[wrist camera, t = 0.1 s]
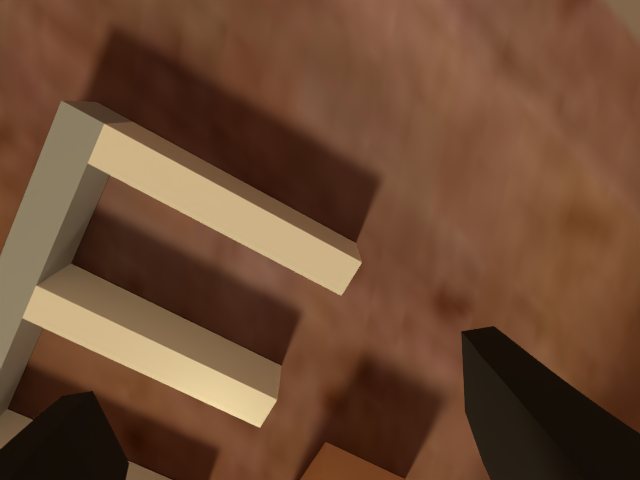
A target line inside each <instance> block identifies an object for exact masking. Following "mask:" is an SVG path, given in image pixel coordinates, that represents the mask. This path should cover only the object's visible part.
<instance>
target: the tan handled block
mask: <svg viewBox="0 0 640 480" xmlns="http://www.w3.org/2000/svg"><path fill="white" fill-rule="evenodd" d="M300 480H405V479H404V478H402V477H399V476H397V475H395V474H393V473H391V472H389V471H387V470H385V469H382V468H380V467H378V466H376V465H374V464H372V463H370V462H368V461H366V460H363V459H361V458H359V457H357V456H355V455H353V454H351V453H349V452H346V451H344V450H342V449H340V448H338V447H336V446H334V445H332V444H330V443H327V442H325V443H324V445H323V446H322V448H321V449H320V451H319V452H318V454H317V455H316V457H315V458H314V460H313V461H312V463H311V464H310V466H309V467H308V469H307V470H306V472H305V473H304V475H303V476H302V478H301V479H300Z"/></svg>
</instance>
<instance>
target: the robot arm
mask: <svg viewBox="0 0 640 480" xmlns="http://www.w3.org/2000/svg"><path fill="white" fill-rule="evenodd" d="M461 334H462V355H463V376H464V398H465V412H466V415H467V418H468V421H469V424H470V427H471V430H472V433H473V436H474V439H475V442H476V444H477V447H478V450H479V453H480V455H481V458H482V461H483V464H484V466H485V468H486V470H487V472H488V475H489V477H490V479H491V480H640V434H639V433H638V432H636V431H635V430H633V429H632V428H630V427H629V426H627V425H626V424H624V423H623V422H621V421H620V420H619V419H617V418H616V417H614V416H613V415H611V414H610V413H608V412H607V411H606V410H604V409H603V408H601V407H600V406H599V405H597V404H596V403H594V402H593V401H592V400H590V399H589V398H587V397H586V396H585V395H583V394H582V393H581V392H579V391H578V390H576V389H575V388H574V387H572V386H571V385H569V384H568V383H567V382H565V381H564V380H563V379H561V378H560V377H559V376H557V375H556V374H555V373H554V372H552V371H551V370H550V369H548V368H547V367H546V366H544V365H543V364H542V363H541V362H539V361H538V360H537V359H535V358H534V357H533V356H531V355H530V354H529V353H528V352H526V351H525V350H524V349H523V348H521V347H520V346H519V345H517V344H516V343H515V342H514V341H512V340H511V339H510V338H509V337H507V336H506V335H505V334H503V333H502V332H501V331H500V330H498V329H497V328H495V327H494V326H492V327H486V328H480V329H474V330H467V331H461ZM128 467H129V462H128V460H127V458H126V456H125V454H124V452H123V450H122V448H121V446H120V444H119V442H118V440H117V438H116V436H115V434H114V432H113V430H112V428H111V426H110V424H109V422H108V420H107V418H106V416H105V415H104V413H103V411H102V409H101V407H100V405H99V403H98V401H97V399H96V397H95V395H94V393H93V391H91V392H85V393H79V394H73V395H66V396H62V397H61V398H60V399H58V400H57V401H56V402H54V403H53V404H52V405H51V406H49V407H48V408H47V409H46V410H45V411H43V412H42V413H41V414H40V415H39V416H37V417H36V418H35V419H34V420H33V421H32V422H30V423H29V424H28V425H27V426H26V427H25V428H24V429H22V430H21V431H20V432H19V433H18V434H17V435H16V436H14V437H13V438H12V439H11V440H10V441H9V442H8V443H7V444H5V445H4V446H3V447H2V448H1V449H0V480H126V476H127V472H128Z"/></svg>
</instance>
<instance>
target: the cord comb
mask: <svg viewBox="0 0 640 480" xmlns="http://www.w3.org/2000/svg"><path fill="white" fill-rule="evenodd" d="M110 175H111V176H113V177H115V178H117V179H119V180H121V181H123V182H124V183H126V184H128V185H130V186H132V187H134V188H136V189H138V190H140V191H142V192H144V193H145V194H147V195H149V196H151V197H153V198H155V199H157V200H159V201H161V202H163V203H165V204H167V205H168V206H170V207H172V208H174V209H176V210H178V211H180V212H182V213H184V214H186V215H188V216H190V217H191V218H193V219H195V220H197V221H199V222H201V223H203V224H205V225H207V226H209V227H211V228H212V229H214V230H216V231H218V232H220V233H222V234H224V235H226V236H228V237H230V238H232V239H234V240H235V241H237V242H239V243H241V244H243V245H245V246H247V247H249V248H251V249H253V250H255V251H257V252H258V253H260V254H262V255H264V256H266V257H268V258H270V259H272V260H274V261H276V262H278V263H280V264H281V265H283V266H285V267H287V268H289V269H291V270H293V271H295V272H297V273H299V274H301V275H302V276H304V277H306V278H308V279H310V280H312V281H314V282H316V283H318V284H320V285H322V286H324V287H325V288H327V289H329V290H331V291H333V292H335V293H337V294H339V295H341V296H342V294H343V292H344V291H345V289H346V287H347V286H348V284H349V283H350V281H351V279H352V278H353V276H354V274H355V273H356V271H357V270H358V268H359V266H360V265H361V263H362V261H361V258H360V254H359V251H358V248H357V245H356V243H355V242H353V241H351V240H349V239H347V238H346V237H344V236H342V235H340V234H338V233H336V232H335V231H333V230H331V229H329V228H327V227H325V226H324V225H322V224H320V223H318V222H316V221H314V220H313V219H311V218H309V217H307V216H305V215H303V214H301V213H300V212H298V211H296V210H294V209H292V208H290V207H289V206H287V205H285V204H283V203H281V202H279V201H278V200H276V199H274V198H272V197H270V196H268V195H267V194H265V193H263V192H261V191H259V190H257V189H256V188H254V187H252V186H250V185H248V184H246V183H245V182H243V181H241V180H239V179H237V178H235V177H233V176H232V175H230V174H228V173H226V172H224V171H222V170H221V169H219V168H217V167H215V166H213V165H211V164H210V163H208V162H206V161H204V160H202V159H200V158H199V157H197V156H195V155H193V154H191V153H189V152H188V151H186V150H184V149H182V148H180V147H178V146H177V145H175V144H173V143H171V142H169V141H167V140H165V139H164V138H162V137H160V136H158V135H156V134H154V133H153V132H151V131H149V130H147V129H145V128H143V127H142V126H140V125H138V124H136V123H134V122H132V121H131V120H129V119H127V118H125V117H123V116H121V115H120V114H118V113H116V112H114V111H112V110H110V109H109V108H107V107H105V106H103V105H101V104H99V103H97V102H83V101H61V103H60V106H59V108H58V111H57V113H56V116H55V118H54V121H53V124H52V126H51V129H50V131H49V134H48V136H47V139H46V141H45V144H44V146H43V149H42V152H41V154H40V157H39V159H38V162H37V164H36V167H35V169H34V172H33V174H32V177H31V180H30V182H29V185H28V187H27V190H26V192H25V195H24V197H23V200H22V202H21V205H20V208H19V210H18V213H17V215H16V218H15V220H14V223H13V225H12V228H11V230H10V233H9V236H8V238H7V241H6V243H5V246H4V248H3V251H2V253H1V256H0V449H1V448H2V447H3V446H4V445H5V444H7V443H8V442H9V441H10V440H11V439H12V438H13V437H14V436H16V435H17V434H18V433H19V432H20V431H21V430H22V429H24V428H25V427H26V426H27V425H28V424H29V423H30V422H32V421H33V420H32V419H30V418H27V417H25V416H23V415H21V414H18V413H16V412H14V411H11V410H9V409H8V406H9V404H10V402H11V400H12V397H13V395H14V393H15V390H16V388H17V386H18V384H19V381H20V379H21V377H22V374H23V372H24V370H25V368H26V365H27V363H28V361H29V358H30V356H31V354H32V352H33V349H34V347H35V345H36V342H37V340H38V338H39V336H40V333H41V331H42V329H43V328H45V329H47V330H49V331H51V332H53V333H56V334H58V335H60V336H62V337H64V338H66V339H69V340H71V341H73V342H75V343H77V344H79V345H82V346H84V347H86V348H88V349H90V350H92V351H95V352H97V353H99V354H101V355H103V356H105V357H108V358H110V359H112V360H114V361H116V362H118V363H121V364H123V365H125V366H127V367H129V368H131V369H134V370H136V371H138V372H140V373H142V374H144V375H147V376H149V377H151V378H153V379H155V380H157V381H160V382H162V383H164V384H166V385H168V386H170V387H173V388H175V389H177V390H179V391H181V392H183V393H186V394H188V395H190V396H192V397H194V398H196V399H199V400H201V401H203V402H205V403H207V404H209V405H212V406H214V407H216V408H218V409H220V410H222V411H225V412H227V413H229V414H231V415H233V416H235V417H238V418H240V419H242V420H244V421H246V422H248V423H251V424H253V425H255V426H257V427H259V428H260V427H261V425H262V423H263V422H264V420H265V419H266V417H267V415H268V414H269V412H270V411H271V409H272V407H273V406H274V404H275V402H276V401H277V397H278V390H279V382H280V374H281V367H282V366H281V365H279V364H277V363H275V362H273V361H271V360H268V359H266V358H264V357H262V356H260V355H258V354H256V353H254V352H252V351H250V350H248V349H246V348H244V347H242V346H240V345H238V344H236V343H234V342H231V341H229V340H227V339H225V338H223V337H221V336H219V335H217V334H215V333H213V332H211V331H209V330H207V329H205V328H203V327H201V326H199V325H197V324H194V323H192V322H190V321H188V320H186V319H184V318H182V317H180V316H178V315H176V314H174V313H172V312H170V311H168V310H166V309H164V308H162V307H160V306H157V305H155V304H153V303H151V302H149V301H147V300H145V299H143V298H141V297H139V296H137V295H135V294H133V293H131V292H129V291H127V290H125V289H123V288H121V287H118V286H116V285H114V284H112V283H110V282H108V281H106V280H104V279H102V278H100V277H98V276H96V275H94V274H92V273H90V272H88V271H86V270H84V269H81V268H79V267H77V266H75V265H73V264H71V263H72V260H73V258H74V256H75V253H76V251H77V249H78V247H79V244H80V242H81V240H82V238H83V235H84V233H85V231H86V228H87V226H88V224H89V222H90V219H91V217H92V215H93V212H94V210H95V208H96V206H97V203H98V201H99V199H100V196H101V194H102V192H103V190H104V187H105V185H106V183H107V180H108V178H109V176H110ZM128 462H129V467H128V472H127V476H126V480H172V479H169V478H167V477H165V476H162V475H160V474H158V473H155V472H153V471H151V470H148V469H146V468H144V467H141V466H139V465H137V464H134V463H132V462H130V461H128Z"/></svg>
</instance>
